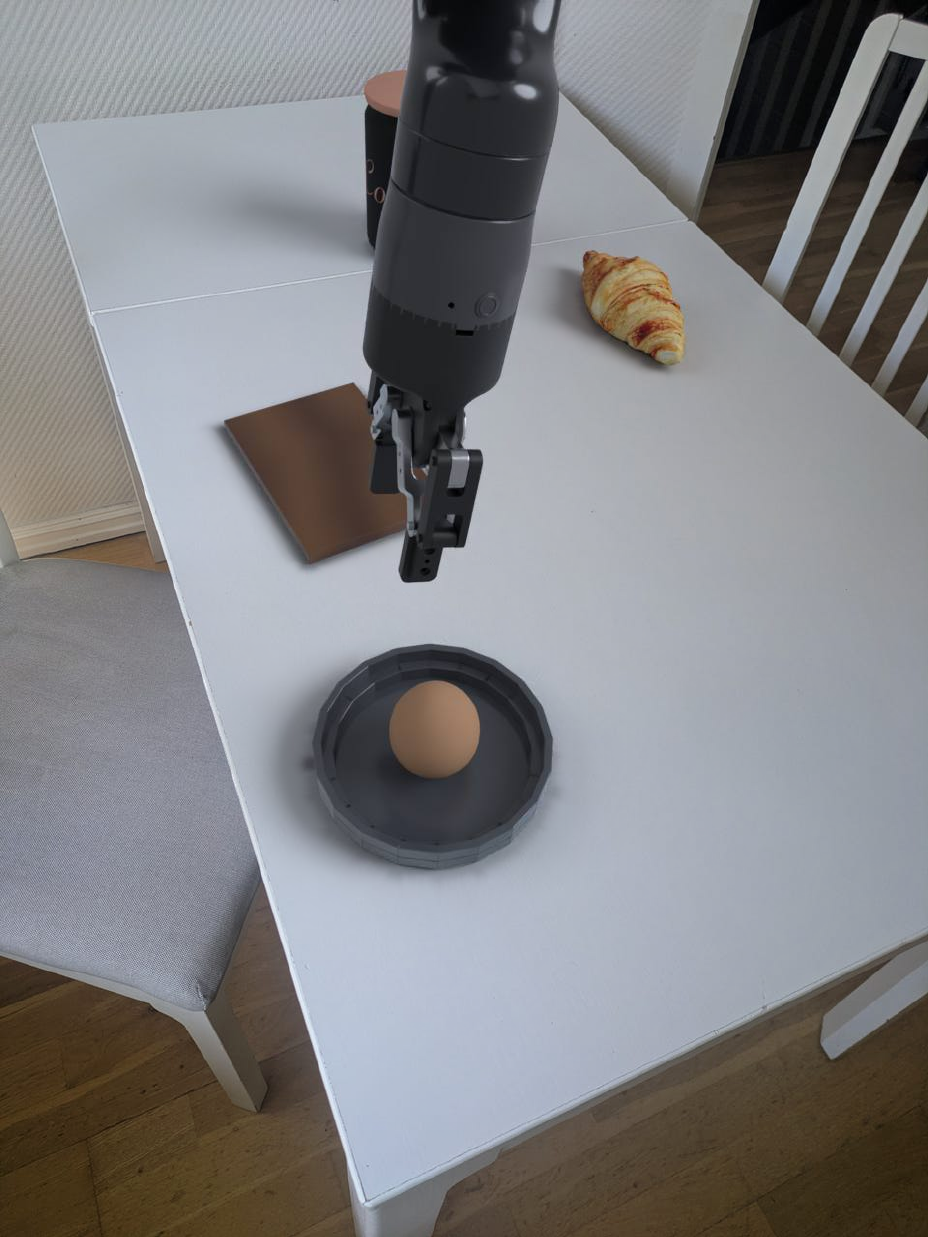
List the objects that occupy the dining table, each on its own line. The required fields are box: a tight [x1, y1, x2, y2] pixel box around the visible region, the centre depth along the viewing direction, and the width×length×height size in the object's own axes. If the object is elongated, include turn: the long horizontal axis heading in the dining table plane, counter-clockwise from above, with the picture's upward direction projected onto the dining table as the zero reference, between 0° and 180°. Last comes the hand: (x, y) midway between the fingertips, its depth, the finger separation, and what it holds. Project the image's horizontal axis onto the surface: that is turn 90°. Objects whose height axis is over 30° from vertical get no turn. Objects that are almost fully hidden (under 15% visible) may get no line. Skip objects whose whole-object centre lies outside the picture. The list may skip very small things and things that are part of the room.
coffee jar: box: [363, 69, 407, 251], centre depth 106 cm, size 11×11×18 cm
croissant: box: [581, 249, 686, 366], centre depth 103 cm, size 21×10×8 cm, turn 24°
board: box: [223, 381, 427, 565], centre depth 86 cm, size 14×20×1 cm
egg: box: [389, 680, 480, 779], centre depth 64 cm, size 6×6×8 cm
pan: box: [311, 643, 554, 870], centre depth 66 cm, size 17×17×3 cm
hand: (399, 532), depth 56 cm, fingers open, 8 cm apart
